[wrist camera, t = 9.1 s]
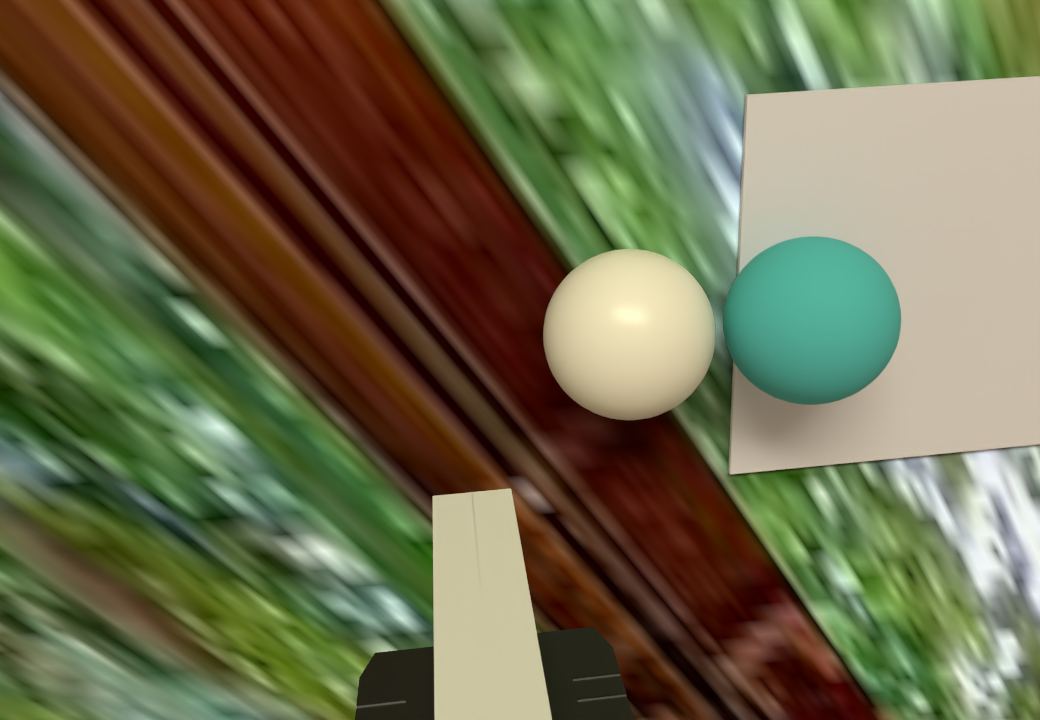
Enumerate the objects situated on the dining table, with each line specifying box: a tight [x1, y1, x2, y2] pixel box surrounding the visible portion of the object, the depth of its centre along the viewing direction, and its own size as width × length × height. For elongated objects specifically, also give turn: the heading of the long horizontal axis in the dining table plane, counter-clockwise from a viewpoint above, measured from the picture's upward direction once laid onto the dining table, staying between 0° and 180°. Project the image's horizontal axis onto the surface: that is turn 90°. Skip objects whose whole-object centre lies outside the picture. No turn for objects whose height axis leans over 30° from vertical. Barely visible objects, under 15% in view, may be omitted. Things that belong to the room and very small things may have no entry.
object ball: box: [723, 236, 901, 405], centre depth 28 cm, size 6×6×6 cm
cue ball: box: [543, 249, 716, 420], centre depth 27 cm, size 6×6×6 cm
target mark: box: [728, 76, 1040, 474], centre depth 30 cm, size 14×14×1 cm
